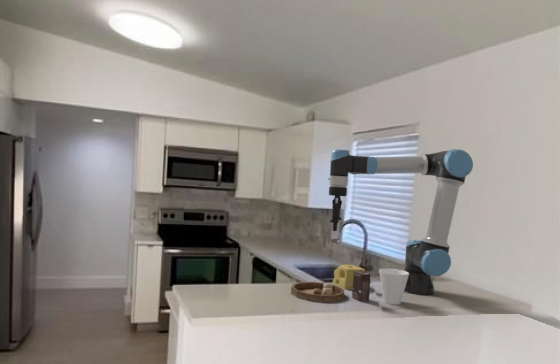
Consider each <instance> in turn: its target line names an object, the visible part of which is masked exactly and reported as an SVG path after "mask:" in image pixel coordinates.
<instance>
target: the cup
mask: <svg viewBox="0 0 560 364" xmlns="http://www.w3.org/2000/svg"><path fill="white" fill-rule="evenodd" d="M378 271H379V279H380V285H381V294H382V300H383V302H384V303H385V304H389V305H396V306H397V305H401V303H402V299H403V296H404V293H405V291H404V290H405V286H406V283H407V279H408V276H409V273H408V272H406V271H405V270H402V269H396V268H380V269H379V270H378Z"/></svg>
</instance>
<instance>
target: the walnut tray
mask: <svg viewBox="0 0 560 364" xmlns="http://www.w3.org/2000/svg"><path fill="white" fill-rule="evenodd" d="M324 284H325V282H317V281H301V282H296V283H292V285H291V287H290V294H292V296H294V297H295V298H298V299H301V300H304V301H309V302H310V301H311V302H317V303H334V302H340V301H342V300H344V299H345V289H343V288H341V287H339V286H337V285H334V284H332V295H322V294H323V286H324Z"/></svg>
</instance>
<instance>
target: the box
mask: <svg viewBox="0 0 560 364" xmlns="http://www.w3.org/2000/svg"><path fill="white" fill-rule="evenodd" d="M370 289H371V273H370V272H369V273H368V272H366V271H365V272H364V271H354V274H353V289H351V290H352V291H351V292H352V293H351V296H352V297H351V298H352V299H353V300H355V301H357V302H360V303H366V302H370V291H371V290H370Z"/></svg>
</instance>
